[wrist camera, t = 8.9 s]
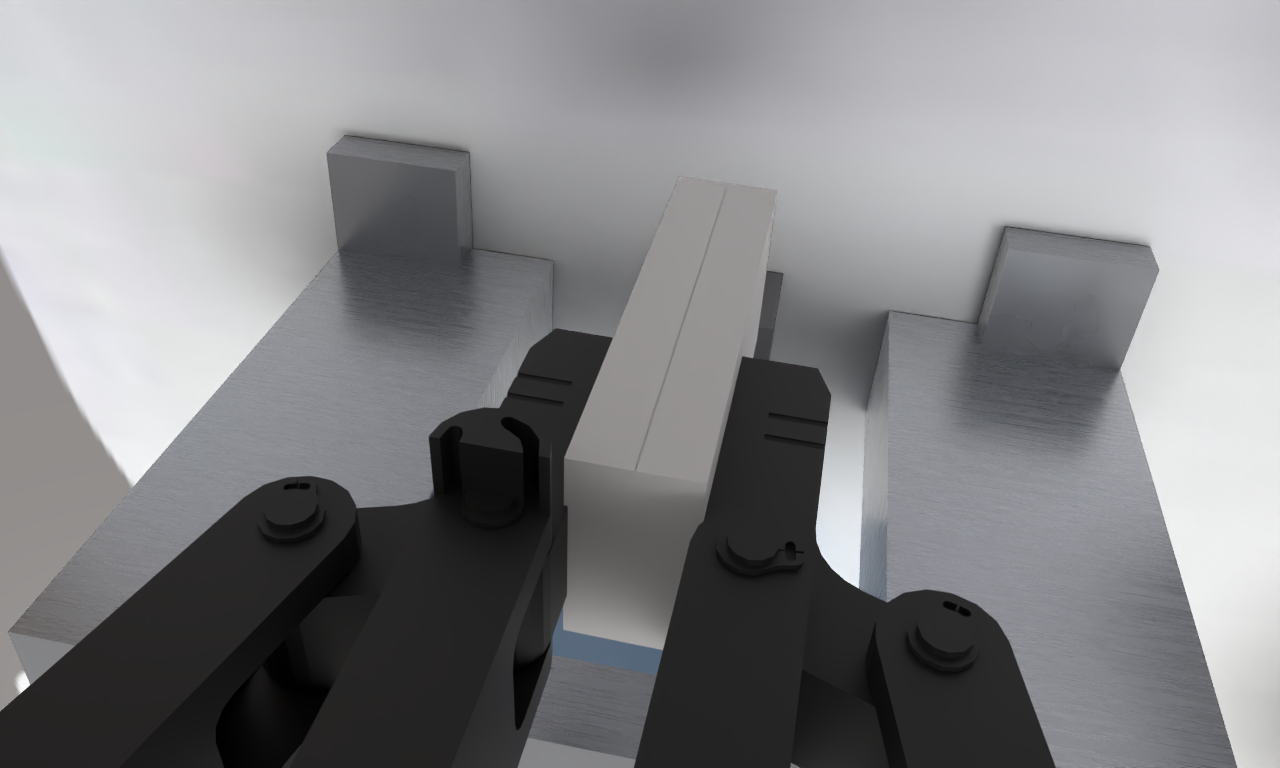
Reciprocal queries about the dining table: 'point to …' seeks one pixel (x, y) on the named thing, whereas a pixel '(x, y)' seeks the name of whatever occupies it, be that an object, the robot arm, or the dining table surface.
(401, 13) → the dining table surface
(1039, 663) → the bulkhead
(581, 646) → the plug
